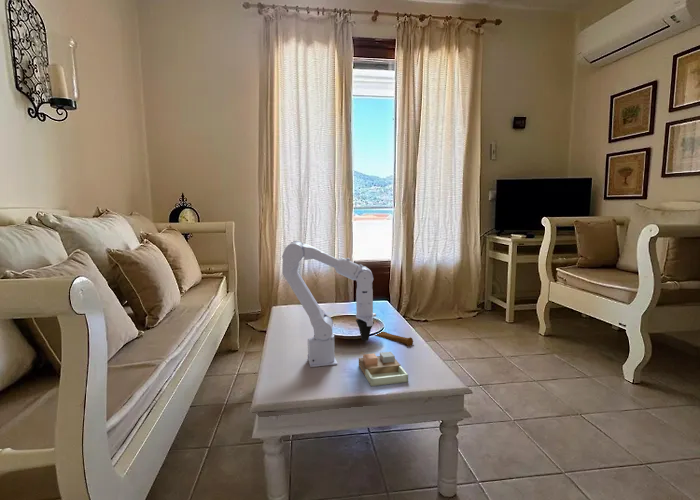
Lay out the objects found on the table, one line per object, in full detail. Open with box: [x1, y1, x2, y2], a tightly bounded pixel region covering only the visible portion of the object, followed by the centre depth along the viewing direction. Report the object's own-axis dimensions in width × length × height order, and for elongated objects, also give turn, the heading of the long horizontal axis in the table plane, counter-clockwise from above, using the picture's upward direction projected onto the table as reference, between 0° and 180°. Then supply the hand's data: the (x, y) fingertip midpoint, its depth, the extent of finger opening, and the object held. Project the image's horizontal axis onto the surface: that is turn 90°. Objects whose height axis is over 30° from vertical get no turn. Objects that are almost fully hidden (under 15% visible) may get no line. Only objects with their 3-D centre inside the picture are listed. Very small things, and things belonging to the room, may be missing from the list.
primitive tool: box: [374, 331, 414, 347], centre depth 161 cm, size 19×6×4 cm, turn 42°
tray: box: [364, 365, 409, 387], centre depth 125 cm, size 12×7×2 cm, turn 103°
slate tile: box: [379, 351, 396, 363], centre depth 134 cm, size 4×4×2 cm
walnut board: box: [358, 355, 402, 376], centre depth 133 cm, size 12×9×3 cm
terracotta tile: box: [362, 352, 378, 365], centre depth 133 cm, size 4×4×2 cm
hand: (364, 339), depth 139 cm, fingers closed
